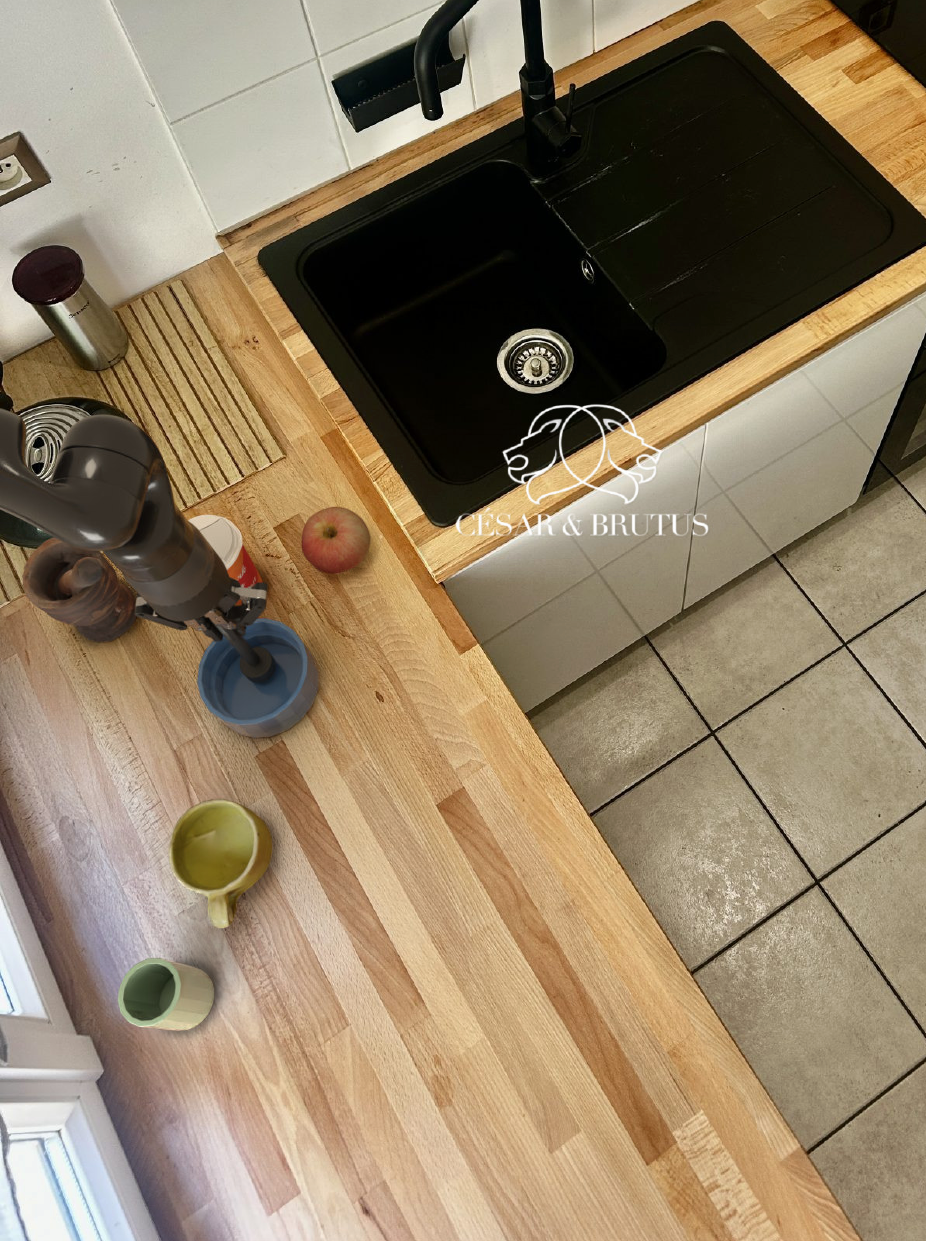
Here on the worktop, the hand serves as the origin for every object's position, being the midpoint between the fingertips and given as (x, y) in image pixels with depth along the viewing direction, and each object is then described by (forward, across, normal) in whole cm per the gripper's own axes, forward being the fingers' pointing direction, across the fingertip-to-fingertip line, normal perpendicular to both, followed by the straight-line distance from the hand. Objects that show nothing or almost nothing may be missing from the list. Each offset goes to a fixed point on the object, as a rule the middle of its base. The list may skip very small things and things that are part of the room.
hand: (229, 632), depth 120 cm
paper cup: (+14, +4, -10) cm, 18 cm away
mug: (+14, +2, +22) cm, 26 cm away
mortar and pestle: (+14, +18, -8) cm, 24 cm away
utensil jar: (+14, +5, +34) cm, 37 cm away
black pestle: (+12, 0, 0) cm, 12 cm away
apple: (+14, -8, -14) cm, 22 cm away
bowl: (+14, 0, +2) cm, 14 cm away
